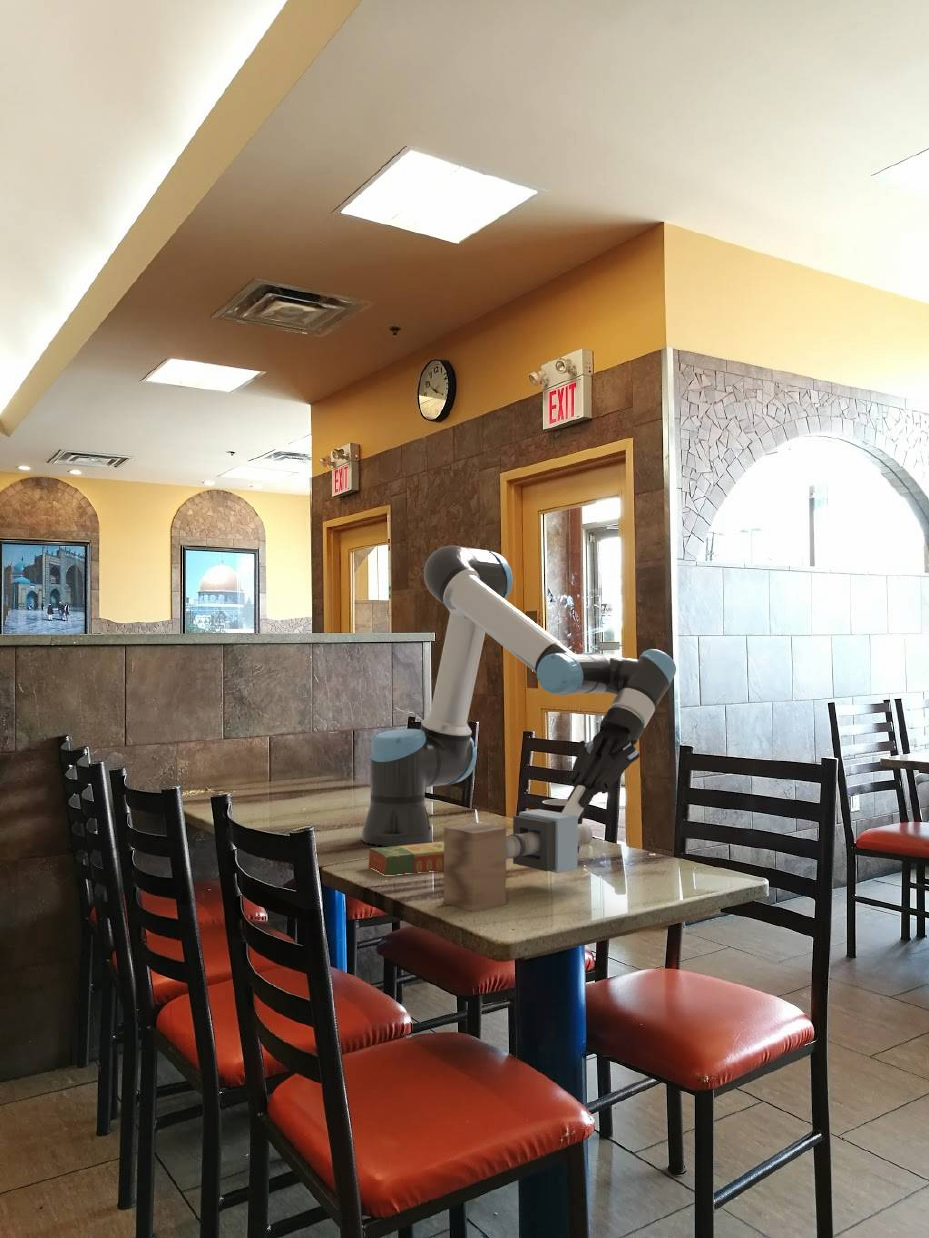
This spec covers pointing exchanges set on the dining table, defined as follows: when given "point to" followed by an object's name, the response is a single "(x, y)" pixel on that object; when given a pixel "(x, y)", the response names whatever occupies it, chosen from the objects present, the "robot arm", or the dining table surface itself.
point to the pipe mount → (485, 862)
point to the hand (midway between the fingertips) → (567, 819)
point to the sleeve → (561, 838)
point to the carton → (408, 858)
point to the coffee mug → (559, 808)
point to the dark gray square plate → (546, 842)
